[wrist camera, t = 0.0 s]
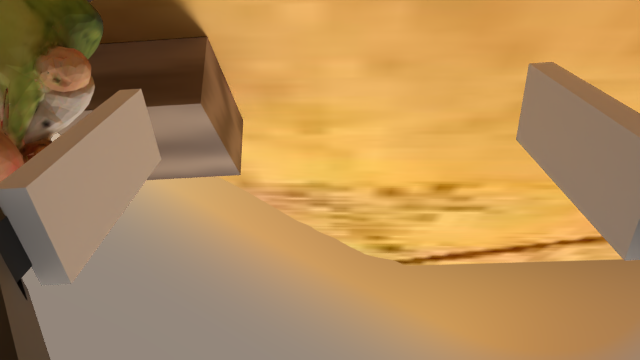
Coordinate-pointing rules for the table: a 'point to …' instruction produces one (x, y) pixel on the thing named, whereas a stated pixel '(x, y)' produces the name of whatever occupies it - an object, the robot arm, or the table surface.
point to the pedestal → (175, 103)
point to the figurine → (43, 72)
